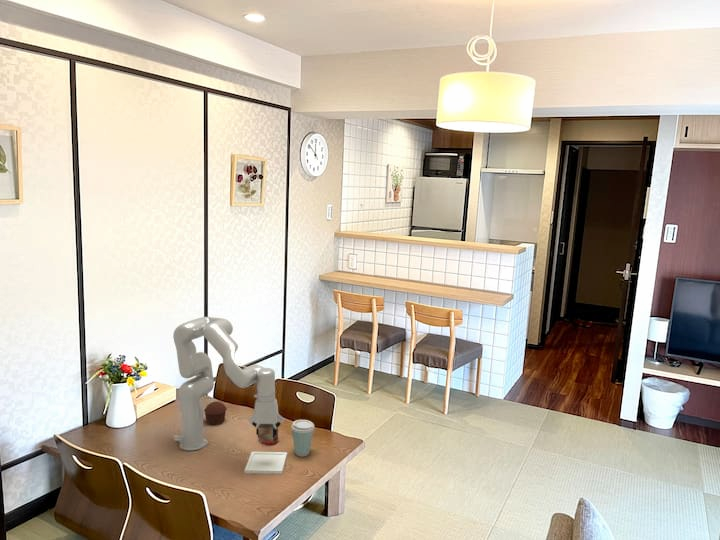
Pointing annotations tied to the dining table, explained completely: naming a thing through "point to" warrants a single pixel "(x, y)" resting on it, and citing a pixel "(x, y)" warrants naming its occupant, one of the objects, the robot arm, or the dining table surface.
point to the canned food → (273, 439)
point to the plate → (266, 462)
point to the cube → (266, 432)
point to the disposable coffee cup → (302, 436)
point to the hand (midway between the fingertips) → (266, 435)
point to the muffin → (215, 413)
